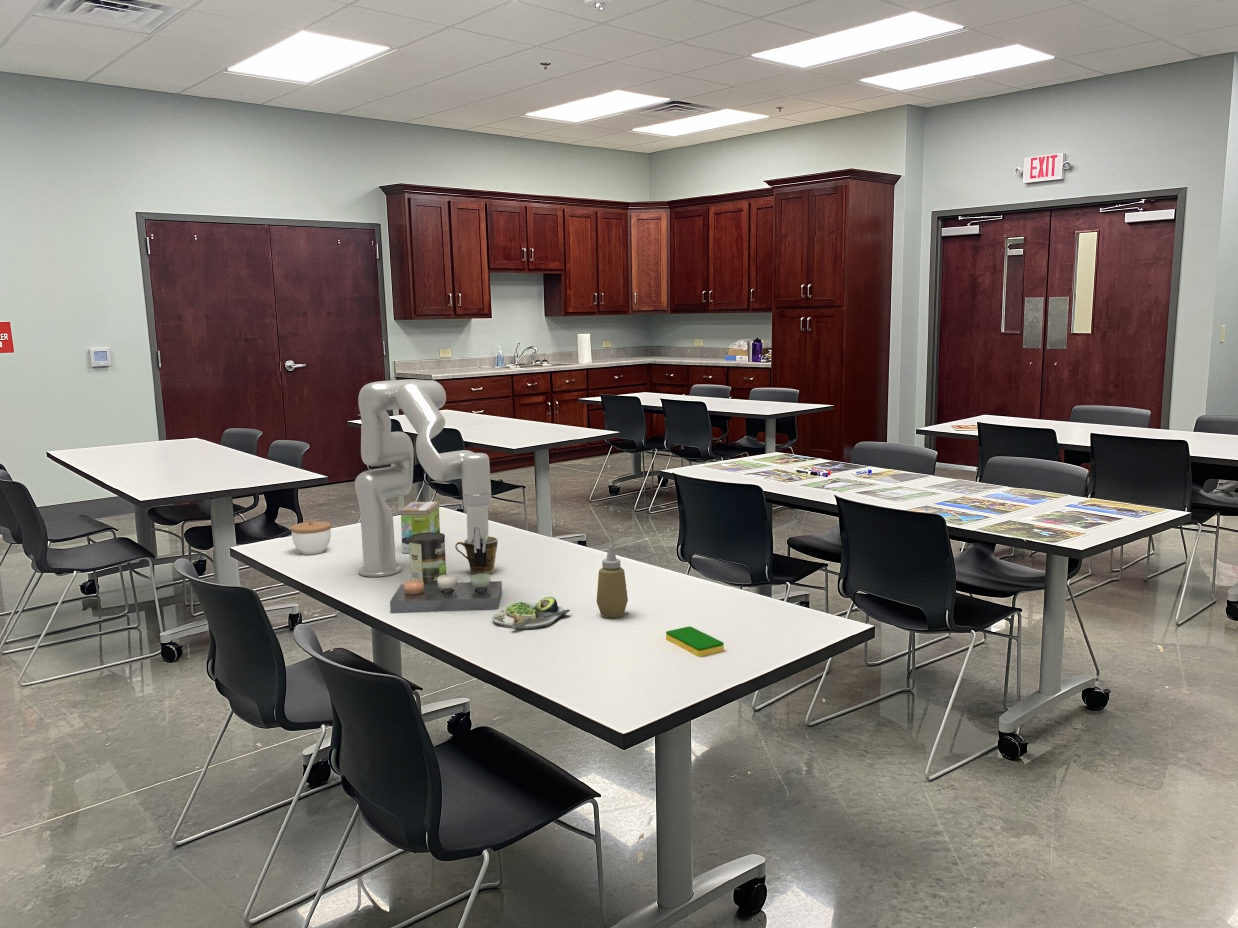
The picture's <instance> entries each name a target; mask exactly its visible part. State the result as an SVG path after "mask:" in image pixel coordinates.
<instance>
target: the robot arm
mask: <svg viewBox="0 0 1238 928" xmlns="http://www.w3.org/2000/svg"><path fill="white" fill-rule="evenodd" d="M446 402H447V394H446V390H445V389H444V387H443V385H442V384H441V383H439V382H438V381H436V380H430V379H415V378H413V379H396V380H395V379H394V380H391V379H390V380H382V381H374V382H369V383H366V384H364V385H363V386H362V387H361V389H360V390H359V393H358V410H359V413H360V418H361V426H360V427H361V428H360V430H361V431H360V432H361V433H360V435H361V436H360V456H361V460H362V462H363V464H365V465H367V466H370V467H379V466H387V465H390V466H389V467H381V468H380V467H379V468H372V469H368V470H365V471H362V472H361V473H359V474H358V475H357V476H356V478H355V481H354V489H355V493H356V497H357V501H358V506H359V507H358V508H359V515H360V529H361V543H362V544H361V545H362V560H363V566H361V567H360V568H359V569H358V574H359V575H360V576H362V577H370V578H377V577H379V578H381V577H387V576H393V575H395V574H398V573H400V572H401V570H402V565H400V564H399V563H397V562H396V561H397V560H396V545H395V542H396V541H395V529H394V526H395V525H394V515H393V512H392V509H391V508H390V506H389V505H388V504H387V502H386V500H389V499H395V498H399V497H403V496H406V495H407V494H409V493H411V490H412V488H413V479H414V446H413V442H412V438H411V437H410V436H409V434H407V433H405V432H403V431H392V421H391V418H390V415H389V413H388V412H387V411H392V410H401V411H402V412H403V414H404V415H405V417H406V418H407V421H408V422H409V423H410V424H411V426H412V428H413V429H414V430H415V432H416V433H417V436H416V441H415V453H416V457H417V459H418V462H419V464H420V465H421V467H422V469H423V470H424V471H425V473H426V474H427V475H428V476H429V477H430V479H432V480H434V481H436V482H442V483H443V482H447V481H448V482H449V481H453V480H458V479H459V480H460V479H461V486H462V489H461V490H462V504H463V505H462V506H463V507H466V530H467V531H466V533H467V534H466V535H467V538H466V539H467V542H468V543H469V544H470V543H471V542H472V541H473V539H474V561H475V567H486V566H487V551H486V540H487V538H488V537H489V511H488V509H489V506H492V504H493V503H492V483H491V469H490V468H491V466H490V457H489V455H488V454H487V453H484V452H483V453H482V452H474V451H471V450H466V449H463V450H455V451H448V452H442V453H439V452H438V451H437V449H436V448H435V447H434V445H433V444H432V441H431V440H432V439H433V438H435V437H436V436H437V435H439V434H440V433H441V432H442V431H443V429H444V428H445V425H446V419H445V417H444V415H443V414H442V413H441V412H440V409H441V408H443V406H445V404H446Z"/></svg>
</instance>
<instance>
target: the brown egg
mask: <svg viewBox="0 0 1238 928" xmlns="http://www.w3.org/2000/svg"><path fill="white" fill-rule="evenodd" d="M403 584H404V593H405V594H420V593H422V592H424V582H423V581H419V580H413V581H412V580H408V581H406V582H404V583H403Z"/></svg>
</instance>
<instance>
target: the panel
mask: <svg viewBox="0 0 1238 928" xmlns="http://www.w3.org/2000/svg"><path fill="white" fill-rule="evenodd" d="M490 583H491V584H490V585H489V586H486V587H485V588H486V592H477V587H473V586H471V581H468V582H467V581H465V582H463V581H462V582H457V586H456V587H453V588H452V593H443V588H439V587H438V583H429V584H424V592H422V593H420V594H405V593H404V583H403V584H402V583H401V584H400V585H399V587H398V588H397V590H396V591H395V593H394V595H393V596H392V598H391V599H390V601H389V609H390V611H389V612H390V613H391V614H392V613H421V612H425V613H427V612H453V611H456V612H457V611H481V610H484V611H485V610H498V608H499V606H500V602H501V598H502V595H503V581H502V580H496V581H495V580H494V581H491V580H490Z"/></svg>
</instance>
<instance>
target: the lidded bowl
mask: <svg viewBox="0 0 1238 928" xmlns="http://www.w3.org/2000/svg"><path fill="white" fill-rule="evenodd" d="M331 525H332V524H331V523H330V522H328V521H322V520H321V521H319V520H318V521H314V520H313V519H308V521H305V522H300V523H296V524H294V525H292V526H290V531H291V537H292V542H293V545H294V547H295V548H296V549H297V550H298V551H300V553H301V554H302V555H306V556H307V555H308V556H309V555H319V554H321V553H324V552H325V550H326V549H327V548H328V546H329V544H330V542H331V537H332V535H331V534H332V533H331V532H332V531H331V528H332V526H331Z"/></svg>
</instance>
